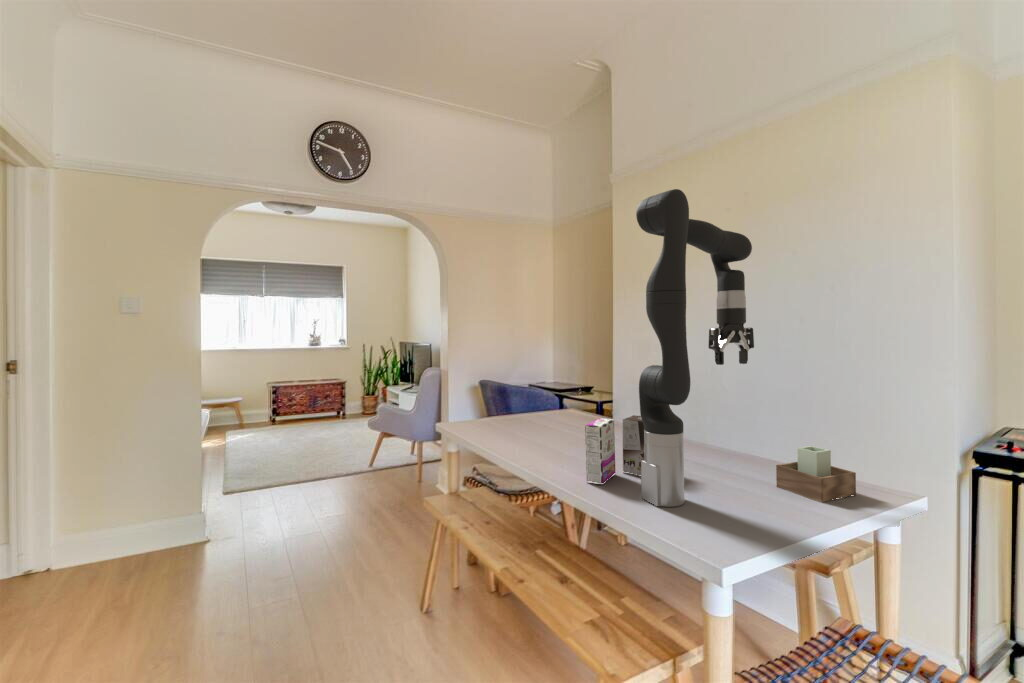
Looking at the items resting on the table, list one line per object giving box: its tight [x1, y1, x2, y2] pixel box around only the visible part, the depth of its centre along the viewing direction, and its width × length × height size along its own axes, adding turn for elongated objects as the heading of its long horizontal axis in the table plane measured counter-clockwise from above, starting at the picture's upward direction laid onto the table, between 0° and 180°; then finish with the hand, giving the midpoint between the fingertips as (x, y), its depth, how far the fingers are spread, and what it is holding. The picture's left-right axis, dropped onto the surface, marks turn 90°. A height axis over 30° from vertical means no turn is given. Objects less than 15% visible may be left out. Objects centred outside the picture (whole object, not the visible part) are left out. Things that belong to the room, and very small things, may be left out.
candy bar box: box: [584, 417, 616, 483], centre depth 125 cm, size 11×5×16 cm, turn 148°
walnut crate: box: [775, 461, 857, 503], centre depth 113 cm, size 12×12×6 cm
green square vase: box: [797, 445, 832, 477], centre depth 113 cm, size 5×5×10 cm
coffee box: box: [622, 414, 644, 476], centre depth 132 cm, size 9×6×16 cm
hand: (731, 364), depth 125 cm, fingers open, 8 cm apart
